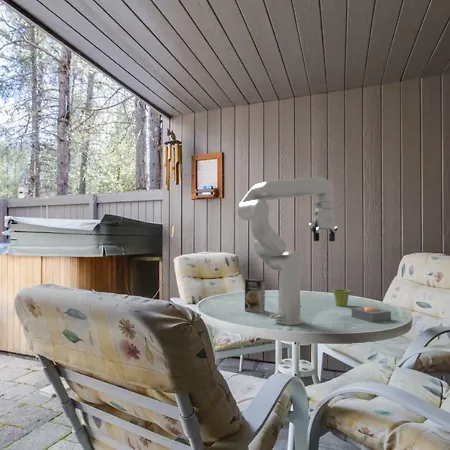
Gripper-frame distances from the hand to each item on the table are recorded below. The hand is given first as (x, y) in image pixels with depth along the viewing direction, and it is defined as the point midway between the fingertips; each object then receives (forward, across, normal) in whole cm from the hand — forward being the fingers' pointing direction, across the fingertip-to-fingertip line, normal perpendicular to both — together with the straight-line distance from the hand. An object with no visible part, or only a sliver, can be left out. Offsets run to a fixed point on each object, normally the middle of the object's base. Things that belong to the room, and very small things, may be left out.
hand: (324, 241), depth 154 cm
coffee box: (+36, -25, +24) cm, 50 cm away
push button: (+34, +18, -11) cm, 40 cm away
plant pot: (+36, +28, +18) cm, 49 cm away
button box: (+36, +18, -11) cm, 42 cm away
